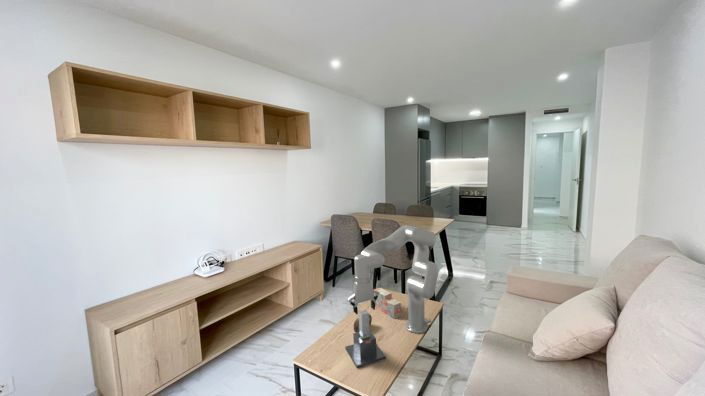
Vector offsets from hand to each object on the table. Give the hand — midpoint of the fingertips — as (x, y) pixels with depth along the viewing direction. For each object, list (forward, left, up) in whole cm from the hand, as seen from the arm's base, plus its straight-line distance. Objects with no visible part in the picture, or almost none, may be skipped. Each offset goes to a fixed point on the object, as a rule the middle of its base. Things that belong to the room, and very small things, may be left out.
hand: (364, 310), depth 147 cm
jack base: (+1, 0, -24) cm, 24 cm away
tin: (-7, -21, -24) cm, 33 cm away
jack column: (+1, 0, -17) cm, 17 cm away
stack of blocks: (-31, -34, -24) cm, 52 cm away
